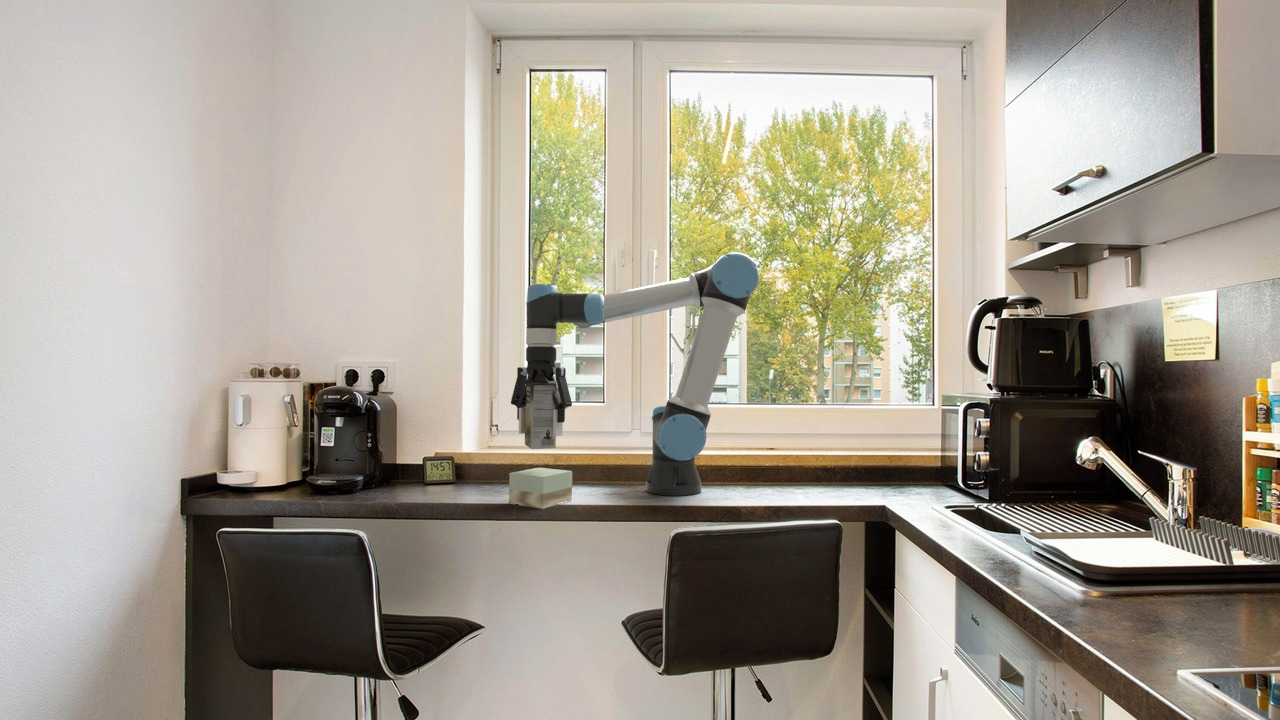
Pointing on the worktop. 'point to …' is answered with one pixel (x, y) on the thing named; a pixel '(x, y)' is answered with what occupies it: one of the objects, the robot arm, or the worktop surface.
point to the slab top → (540, 480)
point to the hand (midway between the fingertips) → (540, 434)
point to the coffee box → (539, 415)
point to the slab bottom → (540, 498)
